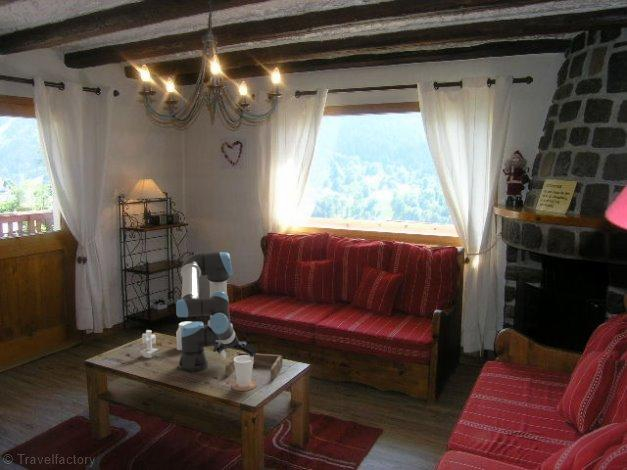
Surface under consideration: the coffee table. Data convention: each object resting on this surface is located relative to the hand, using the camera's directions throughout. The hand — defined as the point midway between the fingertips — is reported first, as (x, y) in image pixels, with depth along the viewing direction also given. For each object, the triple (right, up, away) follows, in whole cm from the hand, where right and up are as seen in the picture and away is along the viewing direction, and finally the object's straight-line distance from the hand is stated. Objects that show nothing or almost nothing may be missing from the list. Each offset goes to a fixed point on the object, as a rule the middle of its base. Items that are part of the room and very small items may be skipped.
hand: (238, 357), depth 237 cm
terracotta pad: (+1, -16, +9) cm, 18 cm away
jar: (-39, -9, +60) cm, 72 cm away
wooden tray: (+4, -14, +27) cm, 30 cm away
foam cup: (+1, -16, +9) cm, 18 cm away
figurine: (-57, -11, +47) cm, 75 cm away
